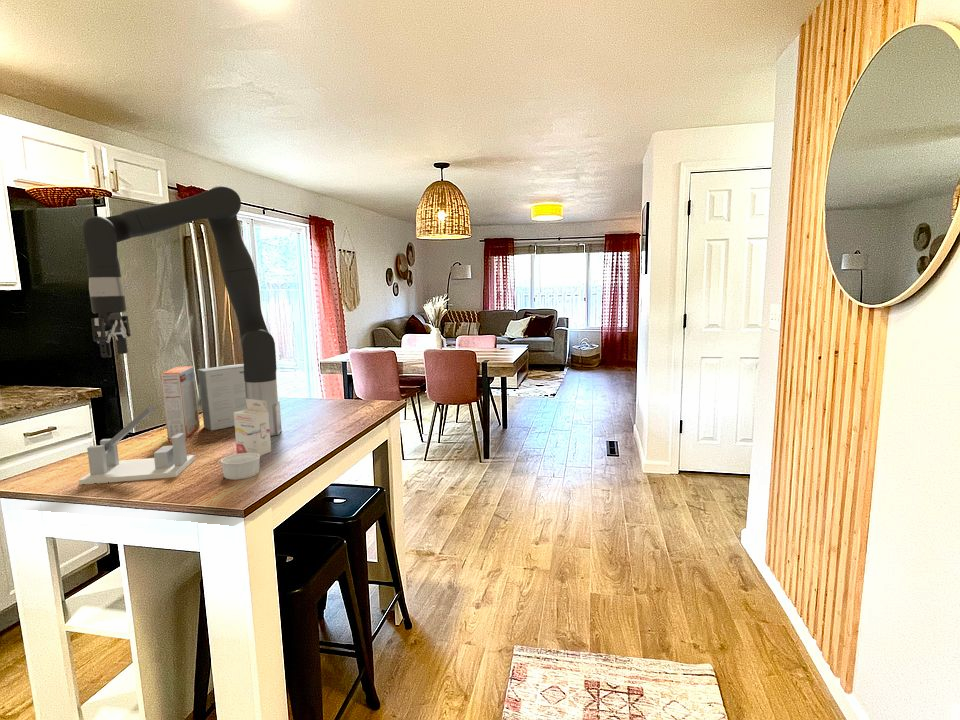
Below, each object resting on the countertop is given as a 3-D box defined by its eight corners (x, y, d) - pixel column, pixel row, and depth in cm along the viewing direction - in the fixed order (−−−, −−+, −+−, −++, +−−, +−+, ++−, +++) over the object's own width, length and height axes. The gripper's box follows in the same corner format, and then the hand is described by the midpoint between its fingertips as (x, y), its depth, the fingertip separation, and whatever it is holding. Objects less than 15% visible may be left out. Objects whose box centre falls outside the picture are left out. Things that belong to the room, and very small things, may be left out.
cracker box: (180, 428, 174) (174, 366, 172) (200, 427, 176) (194, 365, 173) (166, 440, 161) (159, 372, 158) (187, 438, 162) (181, 371, 159)
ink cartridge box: (235, 453, 146) (231, 401, 144) (250, 448, 150) (246, 398, 148) (258, 457, 142) (253, 404, 140) (272, 451, 147) (268, 400, 145)
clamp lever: (157, 410, 133) (150, 403, 133) (151, 413, 130) (144, 406, 129) (106, 454, 132) (99, 448, 132) (99, 459, 129) (92, 452, 128)
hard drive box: (250, 418, 186) (245, 363, 184) (258, 422, 181) (253, 365, 178) (202, 427, 176) (197, 368, 173) (209, 431, 170) (203, 370, 168)
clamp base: (195, 459, 141) (192, 428, 140) (176, 477, 128) (172, 442, 127) (108, 465, 137) (104, 433, 136) (79, 484, 124) (74, 449, 123)
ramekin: (235, 468, 134) (233, 451, 133) (268, 468, 133) (267, 452, 132) (214, 480, 125) (212, 463, 124) (249, 481, 124) (247, 464, 123)
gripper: (108, 294, 133) (116, 358, 135) (135, 294, 147) (142, 351, 149) (75, 295, 131) (84, 359, 134) (106, 295, 145) (113, 353, 148)
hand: (115, 355), depth 141 cm, fingers open, 8 cm apart
